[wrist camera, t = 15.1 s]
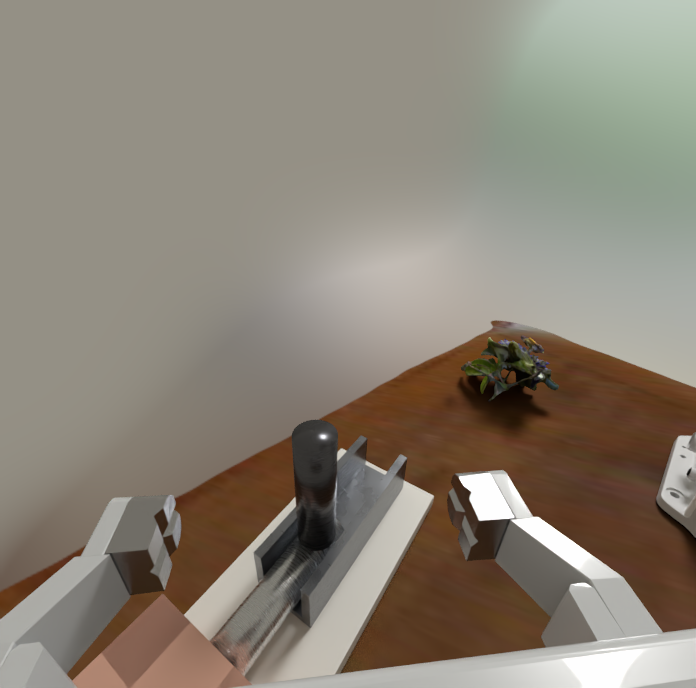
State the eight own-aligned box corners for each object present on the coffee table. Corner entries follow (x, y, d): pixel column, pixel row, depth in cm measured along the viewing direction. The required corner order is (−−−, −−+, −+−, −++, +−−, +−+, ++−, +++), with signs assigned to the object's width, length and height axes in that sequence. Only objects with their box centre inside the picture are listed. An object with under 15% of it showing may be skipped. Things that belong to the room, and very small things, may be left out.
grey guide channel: (359, 465, 43) (361, 435, 41) (402, 488, 41) (407, 457, 38) (258, 585, 32) (253, 552, 29) (310, 628, 29) (309, 596, 27)
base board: (341, 457, 46) (341, 448, 46) (432, 505, 41) (433, 496, 40) (79, 741, 24) (71, 733, 24) (198, 933, 19) (192, 930, 18)
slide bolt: (316, 527, 35) (314, 411, 28) (344, 545, 34) (349, 428, 27) (160, 718, 24) (92, 600, 17) (192, 760, 22) (132, 649, 15)
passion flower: (510, 411, 63) (576, 378, 55) (480, 431, 56) (550, 396, 48) (473, 355, 67) (530, 317, 59) (440, 367, 60) (499, 324, 52)
